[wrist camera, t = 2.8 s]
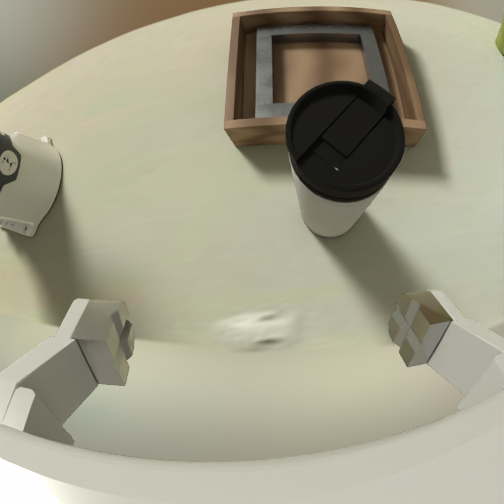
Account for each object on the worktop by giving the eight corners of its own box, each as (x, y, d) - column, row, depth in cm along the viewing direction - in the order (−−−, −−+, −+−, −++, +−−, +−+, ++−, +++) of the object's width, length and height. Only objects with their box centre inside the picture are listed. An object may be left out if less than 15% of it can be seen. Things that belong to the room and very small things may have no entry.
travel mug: (369, 206, 32) (432, 123, 12) (331, 249, 32) (358, 215, 13) (327, 170, 33) (336, 55, 13) (289, 212, 33) (255, 131, 14)
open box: (235, 146, 35) (223, 128, 30) (241, 34, 36) (233, 13, 32) (414, 146, 31) (427, 129, 26) (385, 32, 32) (390, 11, 27)
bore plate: (258, 126, 34) (255, 119, 32) (259, 36, 35) (256, 27, 33) (391, 126, 30) (395, 119, 29) (370, 35, 32) (371, 26, 30)
